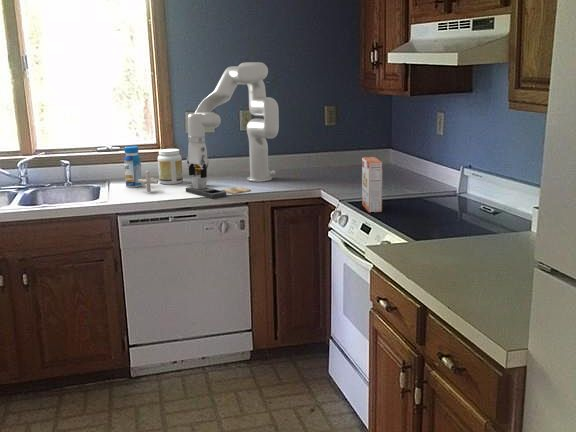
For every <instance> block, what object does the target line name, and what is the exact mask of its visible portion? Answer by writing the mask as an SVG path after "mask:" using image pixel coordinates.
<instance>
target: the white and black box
mask: <svg viewBox="0 0 576 432" xmlns="http://www.w3.org/2000/svg"><path fill="white" fill-rule="evenodd" d="M191 185H192V189H194V190H202V189H207V187H208V186H207V185H208V183H207V177H206V178H201V175H196V176H194V175H191Z"/></svg>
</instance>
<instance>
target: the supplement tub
mask: <svg viewBox="0 0 576 432" xmlns="http://www.w3.org/2000/svg"><path fill="white" fill-rule="evenodd" d="M182 161H183V160H182V156H181V154H180V149H179V148H165V149H164V148H163V149H160V150H158V156H157V168H158V169H157V170H158V183H160V184H162V185H178V184H181V183H182V182H183V181H184V175H183V162H182Z"/></svg>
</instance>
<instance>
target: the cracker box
mask: <svg viewBox="0 0 576 432" xmlns="http://www.w3.org/2000/svg"><path fill="white" fill-rule="evenodd" d="M361 189H362V190H361V201H362V202H361V205H362V206H363V208H364V209H365V210H366V211H367V212H368V213H369V214H372V213H371V212H374V213H382V212H383V161H381V160H380V159H378V158H377V157H375V156H364V157H363V156H362V158H361Z"/></svg>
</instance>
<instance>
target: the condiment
mask: <svg viewBox="0 0 576 432" xmlns="http://www.w3.org/2000/svg"><path fill="white" fill-rule="evenodd" d="M202 166H203V165H202ZM194 167H195V175H193V176H196V175H200V169H201V167H200V165H194ZM188 187H192V184H189V185H188ZM207 187H210V185H208V184H207Z"/></svg>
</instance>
